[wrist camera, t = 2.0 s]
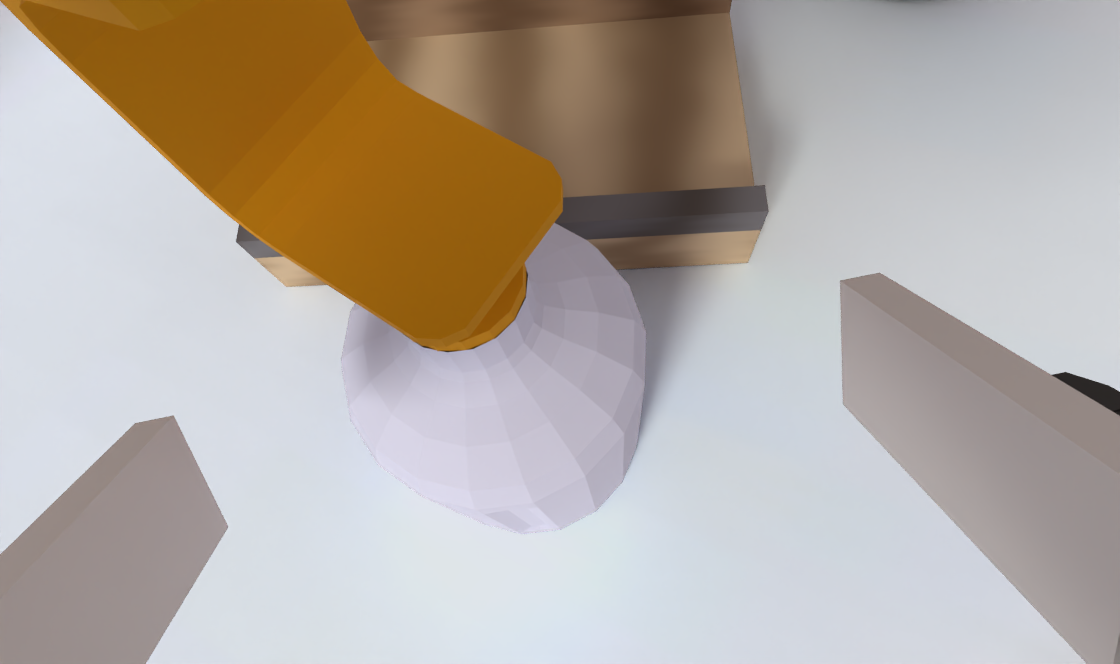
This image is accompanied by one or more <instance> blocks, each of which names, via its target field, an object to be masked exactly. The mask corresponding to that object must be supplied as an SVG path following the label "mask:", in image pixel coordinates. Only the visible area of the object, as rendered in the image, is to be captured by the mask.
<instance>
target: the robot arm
mask: <svg viewBox="0 0 1120 664" xmlns="http://www.w3.org/2000/svg"><path fill="white" fill-rule="evenodd" d="M840 299H841V344H842V389H843V405H844V406H845V407H846V408H847V409H848V410H849V411H850V412H851V413H852V415H853V416H854V417H855V418H856V419H857V420H858V421H859V422H860V423H861V424H862V425H863V426H864V427H865V428H866V429H867V430H868V432H869V433H870V434H871V435H872V436H873V437H874V438H875V439H876V440H877V441H878V442H879V443H880V444H881V445H882V446H883V447H884V449H885V450H886V451H887V452H888V453H889V454H890V455H891V456H892V457H893V458H894V459H895V460H896V461H897V462H898V463H899V464H900V466H901V467H902V468H903V469H904V470H905V471H906V472H907V473H908V474H909V475H910V476H911V477H912V478H913V479H914V480H915V481H916V483H917V484H918V485H919V486H920V487H921V488H922V489H923V490H924V491H925V492H926V493H927V494H928V495H929V496H930V497H931V498H932V500H933V501H934V502H935V503H936V504H937V505H938V506H939V507H940V508H941V509H942V510H943V511H944V512H945V513H946V514H947V515H948V517H949V518H950V519H951V520H952V521H953V522H954V523H955V524H956V525H957V526H958V527H959V528H960V529H961V530H962V531H963V532H964V534H965V535H966V536H967V537H968V538H969V539H970V540H971V541H972V542H973V543H974V544H975V545H976V546H977V547H978V548H979V549H980V551H981V552H982V553H983V554H984V555H985V556H986V557H987V558H988V559H989V560H990V561H991V562H992V563H993V564H994V565H995V567H996V568H997V569H998V570H999V571H1000V572H1001V573H1002V574H1003V575H1004V576H1005V577H1006V578H1007V579H1008V580H1009V581H1010V582H1011V584H1012V585H1013V586H1014V587H1015V588H1016V589H1017V590H1018V591H1019V592H1020V593H1021V594H1022V595H1023V596H1024V597H1025V598H1026V599H1027V601H1028V602H1029V603H1030V604H1031V605H1032V606H1033V607H1034V608H1035V609H1036V610H1037V611H1038V612H1039V613H1040V614H1041V615H1042V616H1043V618H1044V619H1045V620H1046V621H1047V622H1048V623H1049V624H1050V625H1051V626H1052V627H1053V628H1054V629H1055V630H1056V631H1057V632H1058V633H1059V635H1060V636H1061V637H1062V638H1063V639H1064V640H1065V641H1066V642H1067V643H1068V644H1069V645H1070V646H1071V647H1072V648H1073V649H1074V650H1075V652H1076V653H1077V654H1078V655H1079V656H1080V657H1081V658H1082V659H1083V660H1084V661H1085V662H1086V663H1087V664H1120V392H1119V391H1117V390H1115V389H1114V388H1112V387H1110V386H1108V385H1105V384H1102V383H1099V382H1095V381H1092V380H1089V379H1086V378H1083V377H1079V376H1076V375H1073V374H1070V373H1067V372H1064V373H1059V374H1054V375H1050V374H1049V373H1047V372H1045V371H1044V370H1042V369H1040V368H1039V367H1037V366H1035V365H1034V364H1032V363H1030V362H1029V361H1027V360H1025V359H1023V358H1022V357H1020V356H1018V355H1017V354H1015V353H1013V352H1012V351H1010V350H1008V349H1007V348H1005V347H1003V346H1002V345H1000V344H998V343H997V342H995V341H993V340H992V339H990V338H988V337H987V336H985V335H983V334H982V333H980V332H978V331H977V330H975V329H973V328H971V327H970V326H968V325H966V324H965V323H963V322H961V321H960V320H958V319H956V318H955V317H953V316H951V315H950V314H948V313H946V312H945V311H943V310H941V309H940V308H938V307H936V306H935V305H933V304H931V303H930V302H928V301H926V300H925V299H923V298H921V297H919V296H918V295H916V294H914V293H913V292H911V291H909V290H908V289H906V288H904V287H903V286H901V285H899V284H898V283H896V282H894V281H893V280H891V279H889V278H888V277H886V276H884V275H883V274H881V273H876V274H871V275H866V276H861V277H856V278H851V279H846V280H841V281H840ZM227 528H228V525H227V523H226V521H225V519H224V517H223V515H222V513H221V511H220V509H219V507H218V505H217V503H216V501H215V499H214V497H213V495H212V493H211V491H210V489H209V487H208V485H207V483H206V481H205V479H204V477H203V474H202V472H201V470H200V468H199V466H198V464H197V462H196V460H195V458H194V456H193V454H192V452H191V450H190V448H189V446H188V444H187V442H186V440H185V438H184V436H183V434H182V432H181V430H180V428H179V426H178V424H177V422H176V420H175V418H174V416H169V417H164V418H159V419H154V420H149V421H144V422H139V423H135V424H134V425H133V426H132V427H131V428H130V429H129V430H128V431H127V432H126V433H125V434H124V435H123V436H122V437H121V438H120V439H119V440H118V441H117V442H116V443H114V444H113V445H112V446H111V447H110V448H109V449H108V450H107V451H106V452H105V453H104V454H103V455H102V456H101V457H100V458H99V459H98V460H97V461H96V462H95V463H94V464H93V465H92V466H91V467H90V468H89V469H88V470H87V471H86V472H85V473H84V474H83V475H82V476H81V477H80V478H79V479H78V480H76V481H75V482H74V483H73V484H72V485H71V486H70V487H69V488H68V489H67V490H66V491H65V492H64V493H63V494H62V495H61V496H60V497H59V498H58V499H57V500H56V501H55V502H54V503H53V504H52V505H51V506H50V507H49V508H48V509H47V510H46V511H45V512H44V513H43V514H42V515H41V516H40V517H38V518H37V519H36V520H35V521H34V522H33V523H32V524H31V525H30V526H29V527H28V528H27V529H26V530H25V531H24V532H23V533H22V534H21V535H20V536H19V537H18V538H17V539H16V540H15V541H14V542H13V543H12V544H11V545H10V546H9V547H8V548H7V549H6V550H5V551H4V552H3V553H1V554H0V664H146V662H147V660H148V659H149V657H150V656H151V654H152V652H153V651H154V649H155V647H156V646H157V644H158V642H159V641H160V639H161V637H162V636H163V634H164V632H165V631H166V629H167V627H168V626H169V624H170V622H171V621H172V619H173V617H174V616H175V614H176V613H177V611H178V609H179V608H180V606H181V604H182V603H183V601H184V599H185V598H186V596H187V594H188V593H189V591H190V589H191V588H192V586H193V584H194V583H195V581H196V579H197V578H198V576H199V575H200V573H201V571H202V570H203V568H204V566H205V565H206V563H207V561H208V560H209V558H210V556H211V555H212V553H213V551H214V550H215V548H216V546H217V545H218V543H219V541H220V540H221V538H222V536H223V535H224V533H225V532H226V530H227Z"/></svg>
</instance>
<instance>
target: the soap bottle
mask: <svg viewBox="0 0 1120 664" xmlns="http://www.w3.org/2000/svg"><path fill="white" fill-rule="evenodd" d="M0 1H1V2H2V3H3V4H4V5H5V6H6V7H7V8H8V9H9V10H10V11H11V12H12V13H13V14H14V15H15V16H16V17H17V18H18V19H19V20H20V21H21V22H22V23H23V24H24V25H25V26H26V27H27V28H28V29H29V30H30V31H31V32H32V33H33V34H34V35H35V36H36V37H37V38H38V39H39V40H40V41H41V42H43V43H44V44H45V45H46V46H47V47H48V48H49V49H50V50H51V51H52V52H53V53H54V54H55V55H56V56H57V57H58V58H60V59H61V60H62V61H63V62H64V63H65V64H66V65H67V66H68V67H69V68H70V69H71V70H72V71H73V72H74V73H75V74H77V75H78V76H79V77H80V78H81V79H82V80H83V81H84V82H85V83H86V84H87V85H88V86H89V87H90V88H91V89H92V90H94V91H95V92H96V93H97V94H98V95H99V96H100V97H101V98H102V99H103V100H104V101H105V102H106V103H107V104H108V105H109V106H111V107H112V108H113V109H114V110H115V111H116V112H117V113H118V114H119V115H120V116H121V117H122V118H123V119H124V120H125V121H126V122H128V123H129V124H130V125H131V126H132V127H133V128H134V129H135V130H136V131H137V132H138V133H139V134H140V135H141V136H142V137H143V138H145V139H146V140H147V141H148V142H149V143H150V144H151V145H152V146H153V147H154V148H155V149H156V150H157V151H158V152H159V153H160V154H162V155H163V156H164V157H165V158H166V159H167V160H168V161H169V162H170V163H171V164H172V165H173V166H174V167H175V168H176V169H177V170H179V171H180V172H181V173H182V174H183V175H184V176H185V177H186V178H187V179H188V180H189V181H190V182H191V183H192V184H193V185H194V186H196V187H197V188H198V189H199V190H200V191H201V192H202V193H203V194H204V195H205V196H206V197H207V198H209V199H210V200H211V201H212V202H213V203H214V204H215V205H217V206H218V207H219V208H220V209H221V210H222V211H223V212H225V213H226V214H227V215H228V216H229V217H231V218H232V219H233V220H234V221H236V222H237V223H238V224H240V225H241V226H242V227H243V228H245V229H246V230H247V231H249V232H250V233H251V234H252V235H254V236H255V237H256V238H258V239H259V240H261V241H262V242H263V243H265V244H266V245H268V246H269V247H271V248H272V249H273V250H275V251H276V252H278V253H279V254H281V255H282V256H284V257H285V258H287V259H288V260H290V261H292V262H293V263H295V264H296V265H298V266H299V267H301V268H302V269H304V270H305V271H307V272H308V273H310V274H312V275H313V276H315V277H316V278H318V279H319V280H321V281H322V282H324V283H325V284H327V285H329V286H330V287H332V288H333V289H335V290H336V291H338V292H339V293H341V294H342V295H344V296H346V297H347V298H349V299H350V300H352V301H353V302H355V305H354V306H353V308H352V310H351V311H350V316H349V321H348V326H347V332H346V337H345V342H344V347H343V352H342V357H341V363H342V373H343V379H344V385H345V391H346V397H347V402H348V408H349V414H350V420H351V422H352V424H353V425H354V427H355V429H356V430H357V432H358V434H359V435H360V437H361V438H362V440H363V442H364V443H365V445H366V447H367V448H368V450H369V451H370V453H371V455H372V456H373V458H374V460H375V461H376V463H377V464H378V465H379V466H380V467H381V468H383V469H384V470H386V471H387V472H388V473H390V474H391V475H392V476H394V477H395V478H397V479H398V480H399V481H401V482H402V483H403V484H405V485H406V486H408V487H409V488H410V489H412V490H413V491H414V492H416V493H417V494H419V495H420V496H422V497H424V498H426V499H428V500H430V501H433V502H435V503H437V504H439V505H442V506H444V507H446V508H448V509H451V510H453V511H455V512H457V513H459V514H462V515H464V516H466V517H468V518H471V519H473V520H475V521H477V522H480V523H482V524H484V525H488V526H492V527H496V528H500V529H503V530H507V531H511V532H515V533H519V534H527V533H536V532H544V531H553V530H561V529H563V528H565V527H567V526H569V525H571V524H572V523H574V522H576V521H578V520H580V519H582V518H584V517H586V516H588V515H590V514H592V513H594V512H596V511H597V510H598V509H599V507H600V506H601V505H602V504H603V503H604V502H605V501H606V500H607V499H608V498H609V496H610V495H611V494H612V493H613V492H614V491H615V490H616V489H617V488H618V486H619V485H620V484H621V483H622V482H623V480H624V477H625V475H626V472H627V470H628V467H629V465H630V462H631V460H632V457H633V455H634V452H635V450H636V447H637V441H638V434H639V426H640V418H641V411H642V403H643V396H644V388H645V365H646V329H645V327H644V324H643V321H642V319H641V316H640V313H639V310H638V308H637V305H636V302H635V299H634V297H633V294H632V291H631V289H630V286H629V284H628V283H627V282H626V281H625V280H624V278H623V277H622V276H621V275H620V274H619V273H618V272H617V270H616V269H615V268H614V267H613V266H612V265H611V264H610V262H609V261H608V260H607V259H606V258H605V257H604V256H603V254H602V253H601V252H600V251H599V250H598V249H597V248H596V247H595V246H593V245H592V244H591V243H590V242H589V241H587V240H585V239H583V238H582V237H580V236H578V235H576V234H574V233H572V232H571V231H569V230H567V229H565V228H563V227H561V226H560V225H558V224H556V223H554V222H555V221H556V220H557V218H558V217H559V216H560V214H561V213H562V212H563V185H562V179H561V177H560V175H559V174H558V172H557V170H556V169H555V167H554V165H553V164H552V162H551V161H549V160H547V159H545V158H543V157H541V156H539V155H537V154H535V153H534V152H532V151H530V150H528V149H526V148H524V147H522V146H520V145H518V144H516V143H514V142H512V141H510V140H508V139H506V138H505V137H503V136H501V135H499V134H497V133H495V132H493V131H491V130H489V129H487V128H485V127H483V126H481V125H479V124H477V123H476V122H474V121H472V120H470V119H468V118H466V117H464V116H462V115H460V114H458V113H456V112H454V111H452V110H450V109H448V108H446V107H445V106H443V105H441V104H439V103H437V102H435V101H433V100H431V99H429V98H427V97H425V96H423V95H421V94H419V93H418V92H416V91H414V90H413V89H411V88H409V87H408V86H406V85H405V84H403V83H401V82H400V81H398V80H397V79H396V78H395V77H394V76H393V75H392V74H391V73H390V72H389V70H388V69H387V68H386V67H385V66H384V65H383V64H382V63H381V62H380V60H379V59H378V58H377V57H376V55H375V53H374V52H373V50H372V49H371V47H370V46H369V44H368V42H367V41H366V39H365V38H364V36H363V35H362V33H361V31H360V29H359V27H358V25H357V23H356V21H355V19H354V16H353V14H352V12H351V10H350V8H349V6H348V4H347V1H346V0H0Z"/></svg>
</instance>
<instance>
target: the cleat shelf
mask: <svg viewBox="0 0 1120 664" xmlns="http://www.w3.org/2000/svg"><path fill="white" fill-rule="evenodd" d="M346 1H347V4H348V6H349V8H350V10H351V12H352V14H353V16H354V19H355V21H356V23H357V25H358V27H359V29H360V31H361V33H362V35H363V36H364V38H365V39H366V41H367V42H368V44H369V46H370V47H371V49H372V50H373V52H374V53H375V55H376V57H377V58H378V59H379V60H380V62H381V63H382V64H383V65H384V66H385V67H386V68H387V69H388V70H389V72H390V73H391V74H392V75H393V76H394V77H395V78H396V79H397V80H398V81H400V82H401V83H403V84H405V85H406V86H408V87H409V88H411V89H413V90H414V91H416V92H418V93H419V94H421V95H423V96H425V97H427V98H429V99H431V100H433V101H435V102H437V103H439V104H441V105H443V106H445V107H446V108H448V109H450V110H452V111H454V112H456V113H458V114H460V115H462V116H464V117H466V118H468V119H470V120H472V121H474V122H476V123H477V124H479V125H481V126H483V127H485V128H487V129H489V130H491V131H493V132H495V133H497V134H499V135H501V136H503V137H505V138H506V139H508V140H510V141H512V142H514V143H516V144H518V145H520V146H522V147H524V148H526V149H528V150H530V151H532V152H534V153H535V154H537V155H539V156H541V157H543V158H545V159H547V160H549V161H551V162H552V164H553V165H554V167H555V169H556V170H557V172H558V174H559V175H560V177H561V179H562V185H563V212H562V213H561V214H560V216H559V217H558V218H557V220H556V221H555V222H554V223H556V224H558V225H560V226H561V227H563V228H565V229H567V230H569V231H571V232H572V233H574V234H576V235H578V236H580V237H582V238H583V239H585V240H587V241H589V242H590V243H591V244H592V245H593V246H595V247H596V248H597V249H598V250H599V251H600V252H601V253H602V254H603V256H604V257H605V258H606V259H607V260H608V261H609V262H610V264H611V265H612V266H613V267H614V268H615V269H616V270H617V269H636V268H655V267H674V266H694V265H713V264H732V263H748V261H749V258H750V256H751V253H752V251H753V248H754V246H755V243H756V241H757V238H758V236H759V234H760V231H761V229H762V226H763V224H764V221H765V219H766V216H767V214H768V204H767V198H766V191H765V185H762V186H754V179H753V172H752V165H751V158H750V151H749V144H748V137H747V131H746V124H745V117H744V110H743V103H742V96H741V89H740V82H739V75H738V68H737V61H736V55H735V48H734V41H733V34H732V27H731V20H730V13H729V12H730V7H731V2H732V0H346ZM236 242H237V243H238V244H239V245H240V246H241V247H242V248H243V249H245V250H246V251H247V252H248V253H249V254H250V255H251V256H252V257H254V258H255V259H256V260H257V261H258V262H259V263H260V264H261V265H262V266H264V267H265V268H266V269H267V270H268V271H269V272H270V273H271V274H273V275H274V276H275V277H276V278H277V279H278V280H279V281H280V282H281V283H283V284H284V285H285V286H286V287H292V286H311V285H327V284H325V283H324V282H322V281H321V280H319V279H318V278H316V277H315V276H313V275H312V274H310V273H308V272H307V271H305V270H304V269H302V268H301V267H299V266H298V265H296V264H295V263H293V262H292V261H290V260H288V259H287V258H285V257H284V256H282V255H281V254H279V253H278V252H276V251H275V250H273V249H272V248H271V247H269V246H268V245H266V244H265V243H263V242H262V241H261V240H259V239H258V238H256V237H255V236H254V235H252V234H251V233H250V232H249V231H247V230H246V229H245V228H243V227H242V226H241V225H240V224H239V228H238V234H237V239H236Z"/></svg>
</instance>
